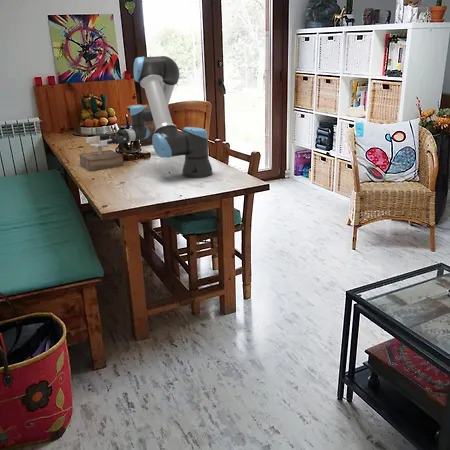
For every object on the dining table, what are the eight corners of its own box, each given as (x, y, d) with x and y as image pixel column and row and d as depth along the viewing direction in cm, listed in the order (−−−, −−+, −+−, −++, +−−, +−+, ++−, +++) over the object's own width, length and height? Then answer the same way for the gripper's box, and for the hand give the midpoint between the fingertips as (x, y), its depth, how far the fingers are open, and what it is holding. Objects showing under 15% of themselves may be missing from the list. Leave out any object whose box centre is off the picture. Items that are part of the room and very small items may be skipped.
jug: (135, 148, 297) (131, 108, 288) (120, 143, 312) (116, 105, 303) (165, 143, 310) (162, 105, 301) (148, 139, 325) (145, 102, 316)
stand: (123, 166, 254) (122, 155, 252) (91, 171, 245) (89, 160, 243) (111, 160, 268) (110, 149, 266) (80, 164, 259) (79, 154, 257)
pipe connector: (105, 156, 249) (102, 137, 245) (88, 156, 251) (85, 138, 247) (112, 152, 258) (110, 134, 254) (96, 153, 260) (93, 135, 256)
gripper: (140, 145, 258) (108, 152, 243) (112, 140, 273) (81, 146, 258) (139, 131, 255) (107, 137, 240) (111, 127, 270) (79, 132, 255)
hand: (93, 142), depth 249 cm, fingers open, 13 cm apart
